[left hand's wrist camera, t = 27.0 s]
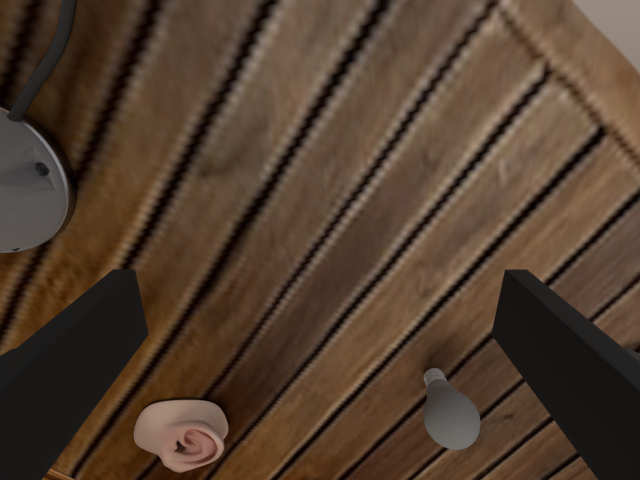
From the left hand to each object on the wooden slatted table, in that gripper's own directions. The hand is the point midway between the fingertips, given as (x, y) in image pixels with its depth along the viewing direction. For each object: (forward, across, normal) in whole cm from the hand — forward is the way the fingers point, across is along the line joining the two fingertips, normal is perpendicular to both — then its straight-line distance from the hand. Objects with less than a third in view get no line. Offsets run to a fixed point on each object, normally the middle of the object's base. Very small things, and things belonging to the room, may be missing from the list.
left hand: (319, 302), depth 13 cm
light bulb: (+26, +15, -26) cm, 39 cm away
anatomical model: (+26, -19, -36) cm, 48 cm away
